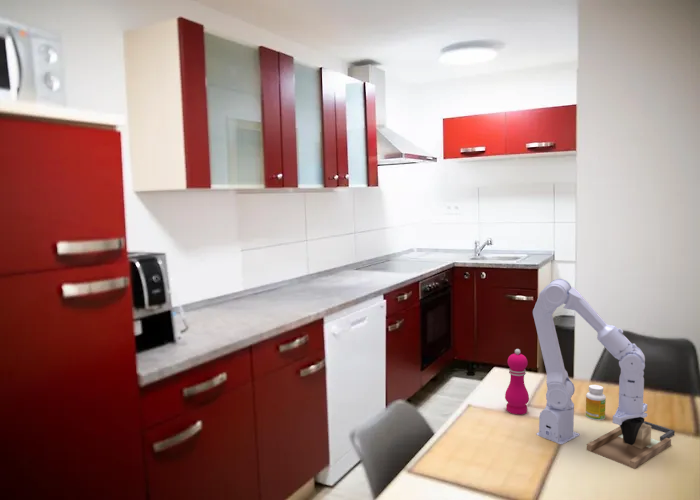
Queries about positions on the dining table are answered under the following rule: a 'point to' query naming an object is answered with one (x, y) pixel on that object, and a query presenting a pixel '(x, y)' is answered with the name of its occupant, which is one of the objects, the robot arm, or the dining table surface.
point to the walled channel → (625, 449)
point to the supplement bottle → (595, 403)
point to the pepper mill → (517, 384)
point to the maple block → (642, 437)
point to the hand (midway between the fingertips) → (629, 443)
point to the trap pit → (667, 431)
